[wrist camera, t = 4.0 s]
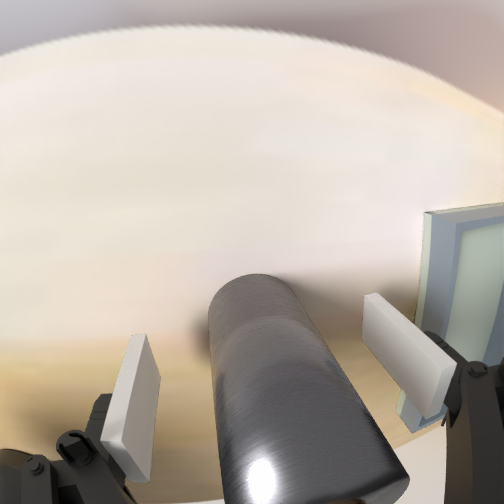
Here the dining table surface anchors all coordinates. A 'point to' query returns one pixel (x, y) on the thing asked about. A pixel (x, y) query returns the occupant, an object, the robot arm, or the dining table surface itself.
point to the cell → (289, 407)
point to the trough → (461, 289)
